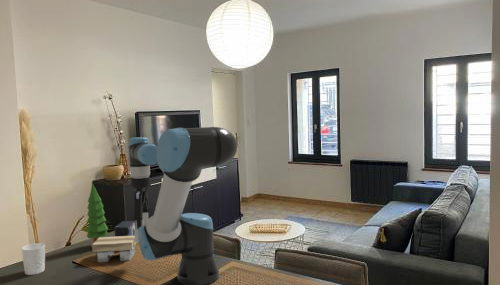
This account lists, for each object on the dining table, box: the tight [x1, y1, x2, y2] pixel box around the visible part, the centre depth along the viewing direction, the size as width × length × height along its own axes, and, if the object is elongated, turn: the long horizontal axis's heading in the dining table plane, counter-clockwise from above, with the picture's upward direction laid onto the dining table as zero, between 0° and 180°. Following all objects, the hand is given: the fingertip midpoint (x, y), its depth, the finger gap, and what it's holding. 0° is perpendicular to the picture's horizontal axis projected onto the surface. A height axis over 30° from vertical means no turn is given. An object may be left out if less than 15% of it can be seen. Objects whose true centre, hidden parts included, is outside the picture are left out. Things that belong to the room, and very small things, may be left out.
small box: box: [114, 220, 136, 237], centre depth 174 cm, size 11×6×10 cm, turn 179°
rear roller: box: [119, 245, 136, 262], centre depth 161 cm, size 10×4×4 cm, turn 5°
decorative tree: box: [86, 182, 109, 249], centre depth 175 cm, size 10×9×30 cm
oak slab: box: [91, 235, 137, 253], centre depth 160 cm, size 10×16×3 cm, turn 95°
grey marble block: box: [134, 225, 146, 244], centre depth 149 cm, size 10×4×4 cm, turn 3°
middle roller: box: [96, 251, 115, 263], centre depth 160 cm, size 10×4×4 cm, turn 5°
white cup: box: [21, 242, 46, 276], centre depth 147 cm, size 8×8×10 cm
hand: (142, 232), depth 149 cm, fingers closed on grey marble block, 10 cm apart
